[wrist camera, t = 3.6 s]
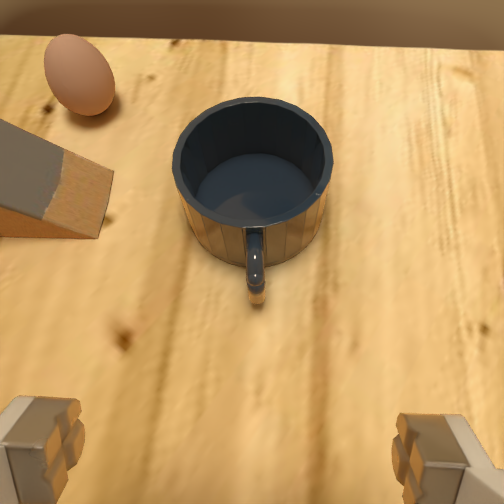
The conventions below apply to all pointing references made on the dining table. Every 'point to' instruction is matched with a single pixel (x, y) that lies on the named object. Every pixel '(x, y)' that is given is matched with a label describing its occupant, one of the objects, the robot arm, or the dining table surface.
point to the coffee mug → (253, 182)
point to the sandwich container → (48, 188)
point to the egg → (78, 75)
